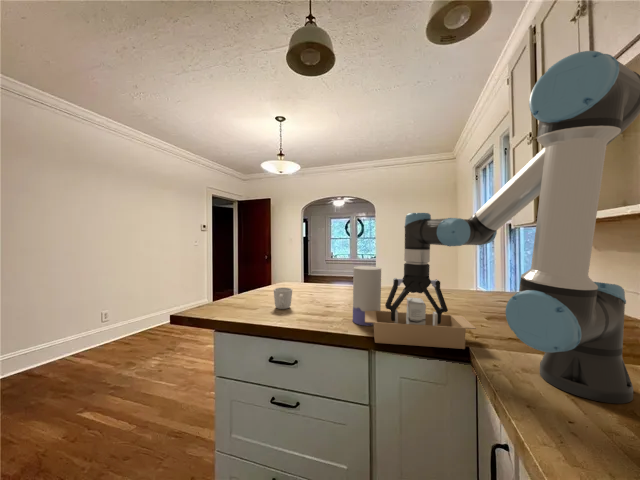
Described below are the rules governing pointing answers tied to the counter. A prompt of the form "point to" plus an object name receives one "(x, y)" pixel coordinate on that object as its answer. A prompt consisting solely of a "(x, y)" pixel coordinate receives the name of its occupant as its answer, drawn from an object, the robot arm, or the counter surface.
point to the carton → (419, 330)
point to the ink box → (415, 311)
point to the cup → (282, 297)
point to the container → (366, 292)
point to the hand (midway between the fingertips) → (415, 332)
